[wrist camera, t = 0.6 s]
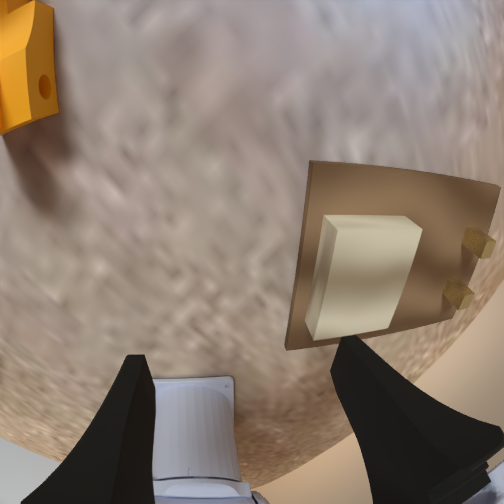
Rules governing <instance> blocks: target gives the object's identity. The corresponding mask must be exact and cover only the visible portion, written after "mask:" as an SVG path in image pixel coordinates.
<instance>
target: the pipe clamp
mask: <svg viewBox="0 0 504 504" xmlns="http://www.w3.org/2000/svg"><path fill="white" fill-rule="evenodd" d="M56 113H59V107H58V99H57V90H56V80H55V67H54V48H53V8H52V7H50V6H48V5H46V4H43V3H41V2H39V1H37V0H33V1H31V2H29V0H0V136H1V135H3V134H6V133H8V132H10V131H12V130H15V129H17V128H20V127H22V126H24V125H27V124H29V123H32V122H34V121H37V120H40V119H42V118H45V117H48V116H51V115H53V114H56Z"/></svg>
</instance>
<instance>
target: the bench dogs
mask: <svg viewBox="0 0 504 504" xmlns="http://www.w3.org/2000/svg"><path fill="white" fill-rule="evenodd" d="M495 243H496V241H495V240H494V239H493V238H491V237H490V236H488V235H487V234H486V233H484V232H483V231H482V230H480V229H479V228H477V227H466V231H465V234H464V237H463V240H462V243H461V244H463V245H464V246H465V247H467V248H468V249H469V250H470V251H471V252H473V253H474V254H475V255H476V256H478V257H479V258H480V259H484V258H490V257H491V254H492V251H493V249H494V246H495ZM442 294H443V295H444V296H445V297H446V298H447V299H448V300H449V301H450V302H451V303H452V304H453V305H454V307H455V308H456V309H457V310H461V309H465V308H468V307H469V305H470V303H471V301H472V298H473V296H474V294H475V293H474V292H473V291H472V290H471V289H470V288H469V287H467V286H466V285H465V284H464V283H463V282H462V281H461V280H460V279H459V278H453V279H448V280H447V283H446V285H445V288H444V290H443V292H442Z"/></svg>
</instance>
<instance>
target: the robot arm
mask: <svg viewBox="0 0 504 504" xmlns="http://www.w3.org/2000/svg"><path fill="white" fill-rule="evenodd" d="M330 372H331V376H332V379H333V383H334V386H335V389H336V392H337V395H338V397H339V400H340V402H341V404H342V406H343V409H344V411H345V413H346V415H347V417H348V420H349V422H350V424H351V426H352V429H353V431H354V433H355V435H356V438H357V440H358V443H359V446H360V449H361V452H362V456H363V459H364V463H365V466H366V471H367V475H368V479H369V483H370V488H371V493H372V498H373V504H504V460H503V461H502V462H500V463H499V464H498V465H497V466H495V467H494V468H493V469H492V470H490V471H489V472H486V469H487V468H488V466H489V465H488V464H487V462H486V461H487V460H488V459H490V458H491V457H492V456H493V455H494V454H496V453H497V452H498V451H500V450H501V449H502V448H503V447H504V433H503V431H502V430H501V428H500V427H499V426H496V425H492V424H489V423H486V422H482V421H479V420H476V419H474V418H471V417H469V416H467V415H464V414H462V413H460V412H457V411H456V410H454V409H452V408H450V407H448V406H446V405H444V404H442V403H441V402H439V401H437V400H435V399H434V398H432V397H431V396H429V395H428V394H426V393H425V392H423V391H422V390H420V389H419V388H417V387H416V386H415V385H413V384H412V383H411V382H409V381H408V380H407V379H405V378H404V377H403V376H402V375H401V374H399V373H398V372H397V371H396V370H394V369H393V368H392V367H391V366H390V365H389V364H388V363H386V362H385V361H384V360H383V359H382V358H381V357H380V356H379V355H377V354H376V353H375V352H374V351H373V350H372V349H371V348H370V347H369V346H367V345H366V344H365V343H364V342H363V341H362V340H361V339H360V338H359V337H357V336H356V335H350V336H345V337H341V340H340V343H339V346H338V349H337V352H336V355H335V358H334V361H333V364H332V367H331V370H330ZM233 427H234V381H233V378H232V377H230V376H223V377H207V378H184V379H152V376H151V373H150V370H149V367H148V364H147V361H146V358H145V355H127V356H126V358H125V360H124V362H123V364H122V367H121V369H120V371H119V373H118V375H117V377H116V379H115V381H114V383H113V385H112V387H111V389H110V390H109V392H108V394H107V396H106V398H105V400H104V402H103V403H102V405H101V407H100V409H99V410H98V412H97V414H96V415H95V417H94V419H93V420H92V422H91V424H90V425H89V427H88V428H87V430H86V431H85V433H84V434H83V436H82V437H81V439H80V440H79V441H78V443H77V444H76V445H75V447H74V448H73V449H72V451H71V452H70V453H69V454H68V456H67V457H66V458H65V459H64V461H63V462H62V463H61V464H60V465H59V467H58V468H57V469H56V470H55V471H54V472H53V473H52V474H51V475H50V476H49V477H48V478H47V479H46V480H45V481H44V482H43V483H42V484H41V485H40V486H39V487H38V488H36V489H35V490H34V491H33V492H32V493H31V494H29V495H28V496H27V497H26V498H25V499H24V500H23V501H21V504H269V502H268V501H267V500H266V499H265V498H264V497H263V496H262V495H261V494H260V493H258V492H256V491H251V488H250V483H249V482H242V478H241V472H240V467H239V461H238V455H237V449H236V443H235V437H234V430H233Z"/></svg>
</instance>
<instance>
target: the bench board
mask: <svg viewBox="0 0 504 504" xmlns="http://www.w3.org/2000/svg"><path fill="white" fill-rule="evenodd" d="M500 190H501V187H499V186H497V185H494V184H489V183H484V182H480V181H475V180H470V179H464V178H459V177H453V176H448V175H442V174H435V173H429V172H422V171H415V170H408V169H400V168H392V167H384V166H374V165H364V164H353V163H341V162H327V161H311V160H310V161H309V171H308V180H307V189H306V198H305V207H304V215H303V223H302V231H301V239H300V246H299V254H298V261H297V268H296V275H295V282H294V289H293V295H292V302H291V308H290V314H289V321H288V327H287V333H286V339H285V344H284V345H285V348H286V351H288V350H296V349H303V348H311V347H318V346H324V345H331V344H337V343H340V340H341V337H335V338H329V339H322V340H315V341H313V339H312V336H311V334H310V332H309V329H308V327H307V325H306V322H305V318H306V313H307V308H308V303H309V298H310V292H311V287H312V282H313V276H314V271H315V265H316V259H317V254H318V248H319V242H320V235H321V229H322V223H323V216H324V215H384V216H406V217H407V218H408V219H410V220H411V221H412V222H414V223H415V224H416V225H418V226H419V227H420V228H422V229H423V230H422V233H421V237H420V240H419V243H418V247H417V250H416V253H415V256H414V259H413V263H412V266H411V269H410V272H409V274H408V277H407V280H406V283H405V286H404V289H403V291H402V294H401V297H400V299H399V302H398V304H397V307H396V310H395V312H394V315H393V317H392V319H391V322H390V324H389V327H388V328H386V329H381V330H376V331H371V332H365V333H360V334H354V335H356V336H357V337H359V338H360V339H365V338H371V337H376V336H381V335H385V334H390V333H395V332H399V331H404V330H408V329H413V328H417V327H421V326H425V325H429V324H433V323H437V322H441V321H444V320H448V319H452V318H453V316H454V314H455V312H456V310H457V309H456V308H455V307H454V305H453V304H452V303H451V302H450V301H449V300H448V299H447V298H446V297H445V296H444V295H443V294H442V292H443V290H444V288H445V285H446V283H447V280H448V279H453V278H459V279H460V280H461V281H462V282H463V283H464V284H465V285H466V286H468V284H469V281H470V279H471V277H472V274H473V272H474V269H475V267H476V264H477V262H478V259H479V257H478V256H476V255H475V254H474V253H473V252H471V251H470V250H469V249H468V248H467V247H465V246H464V245H463V244H461V243H462V240H463V237H464V234H465V231H466V227H477V228H479V229H480V230H482V231H483V232H484V233H486V234H488V231H489V228H490V225H491V222H492V219H493V215H494V212H495V208H496V205H497V201H498V197H499V194H500ZM348 336H350V335H348ZM342 337H345V336H342Z"/></svg>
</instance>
